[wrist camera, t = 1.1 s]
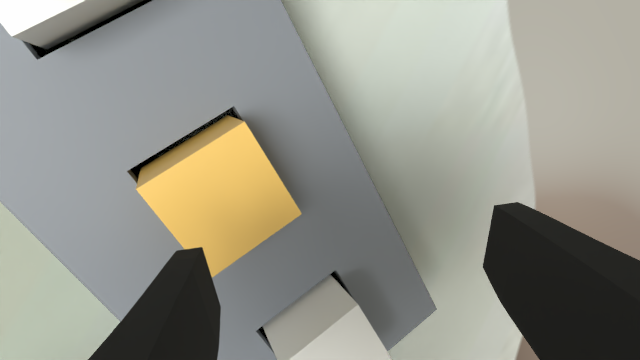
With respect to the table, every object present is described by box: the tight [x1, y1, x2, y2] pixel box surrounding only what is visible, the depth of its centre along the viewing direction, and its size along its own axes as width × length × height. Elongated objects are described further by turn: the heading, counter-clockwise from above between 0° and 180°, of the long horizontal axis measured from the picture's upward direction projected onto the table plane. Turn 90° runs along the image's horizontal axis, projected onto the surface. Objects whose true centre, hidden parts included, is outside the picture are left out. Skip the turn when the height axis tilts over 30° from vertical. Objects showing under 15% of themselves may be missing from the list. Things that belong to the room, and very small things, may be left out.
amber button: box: [136, 115, 302, 277], centre depth 15 cm, size 4×4×4 cm
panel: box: [0, 0, 437, 360], centre depth 17 cm, size 12×26×4 cm, turn 29°
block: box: [263, 275, 392, 360], centre depth 18 cm, size 4×4×4 cm
